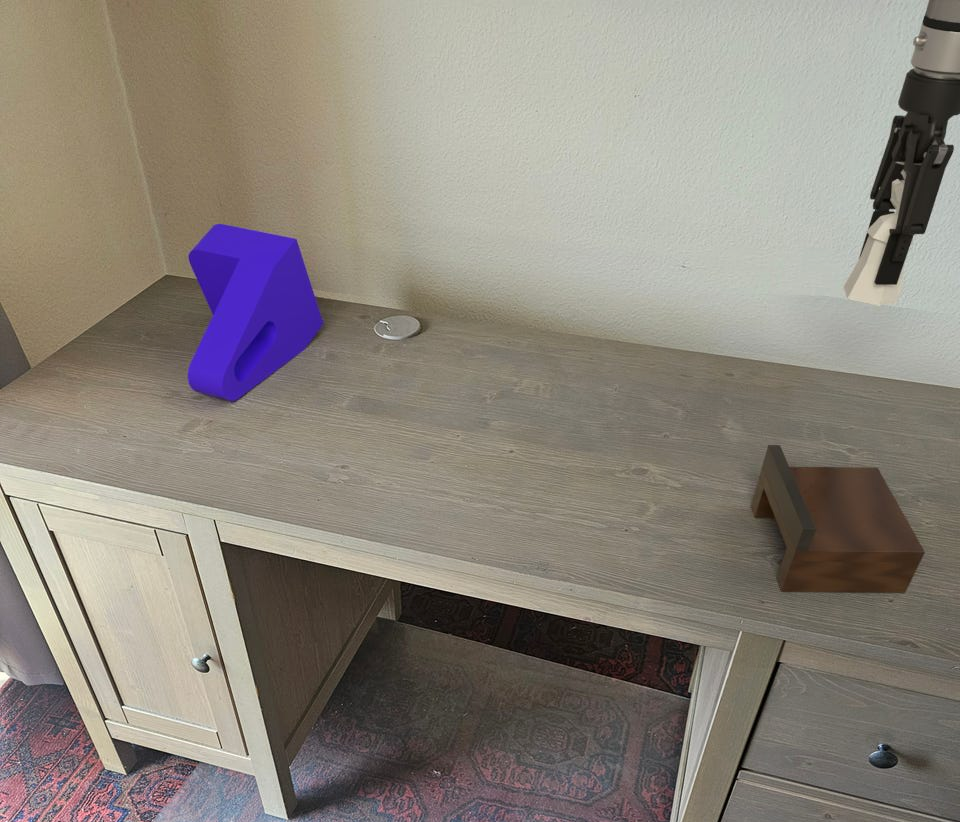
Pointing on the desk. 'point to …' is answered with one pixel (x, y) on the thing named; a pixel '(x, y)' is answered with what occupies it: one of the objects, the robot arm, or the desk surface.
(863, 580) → the brown wooden block
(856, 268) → the figurine
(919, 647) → the desk surface
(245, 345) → the bracket
